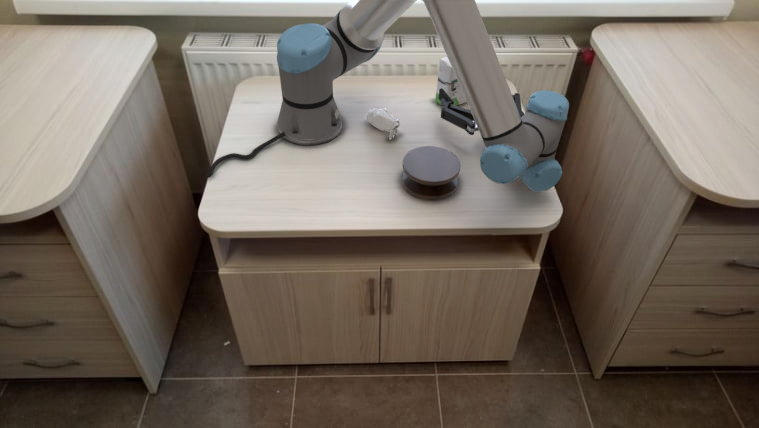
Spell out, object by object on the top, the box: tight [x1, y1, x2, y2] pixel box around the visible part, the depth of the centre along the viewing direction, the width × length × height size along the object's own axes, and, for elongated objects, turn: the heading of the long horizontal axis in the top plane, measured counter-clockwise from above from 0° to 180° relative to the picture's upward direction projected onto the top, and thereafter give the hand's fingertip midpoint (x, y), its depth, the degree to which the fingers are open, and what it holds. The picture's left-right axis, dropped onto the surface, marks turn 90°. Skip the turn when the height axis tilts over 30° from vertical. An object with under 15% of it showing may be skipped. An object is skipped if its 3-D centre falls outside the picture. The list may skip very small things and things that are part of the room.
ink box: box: [434, 56, 467, 106], centre depth 136 cm, size 9×5×12 cm, turn 123°
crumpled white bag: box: [365, 107, 401, 141], centre depth 129 cm, size 5×7×10 cm
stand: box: [401, 145, 461, 202], centre depth 115 cm, size 12×12×5 cm
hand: (465, 88), depth 132 cm, fingers open, 13 cm apart
